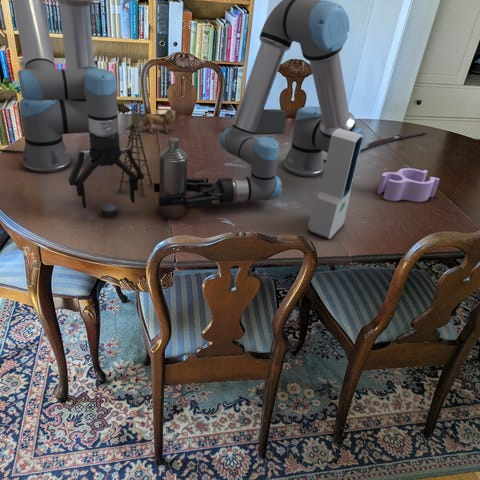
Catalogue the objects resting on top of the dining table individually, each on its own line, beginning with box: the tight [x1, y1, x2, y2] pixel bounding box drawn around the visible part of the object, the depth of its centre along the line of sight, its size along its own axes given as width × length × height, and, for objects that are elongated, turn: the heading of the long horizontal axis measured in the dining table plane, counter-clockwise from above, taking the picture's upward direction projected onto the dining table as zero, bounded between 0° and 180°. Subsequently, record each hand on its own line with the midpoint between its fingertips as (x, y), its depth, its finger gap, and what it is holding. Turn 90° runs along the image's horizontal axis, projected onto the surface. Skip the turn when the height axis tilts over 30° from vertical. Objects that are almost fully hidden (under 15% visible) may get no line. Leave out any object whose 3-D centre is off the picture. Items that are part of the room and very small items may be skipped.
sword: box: [368, 134, 409, 147], centre depth 212 cm, size 31×3×1 cm, turn 126°
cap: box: [101, 204, 117, 218], centre depth 135 cm, size 4×4×2 cm
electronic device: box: [307, 128, 364, 240], centre depth 132 cm, size 12×8×30 cm, turn 148°
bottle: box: [159, 136, 189, 219], centre depth 134 cm, size 8×8×23 cm
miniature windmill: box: [118, 95, 154, 197], centre depth 142 cm, size 9×8×30 cm
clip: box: [376, 167, 440, 203], centre depth 164 cm, size 20×12×7 cm, turn 109°
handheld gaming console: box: [234, 108, 287, 134], centre depth 202 cm, size 23×3×10 cm, turn 108°
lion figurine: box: [142, 109, 176, 134], centre depth 192 cm, size 15×5×9 cm, turn 110°
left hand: (108, 203), depth 134 cm, fingers open, 13 cm apart
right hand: (156, 194), depth 135 cm, fingers closed on bottle, 8 cm apart
